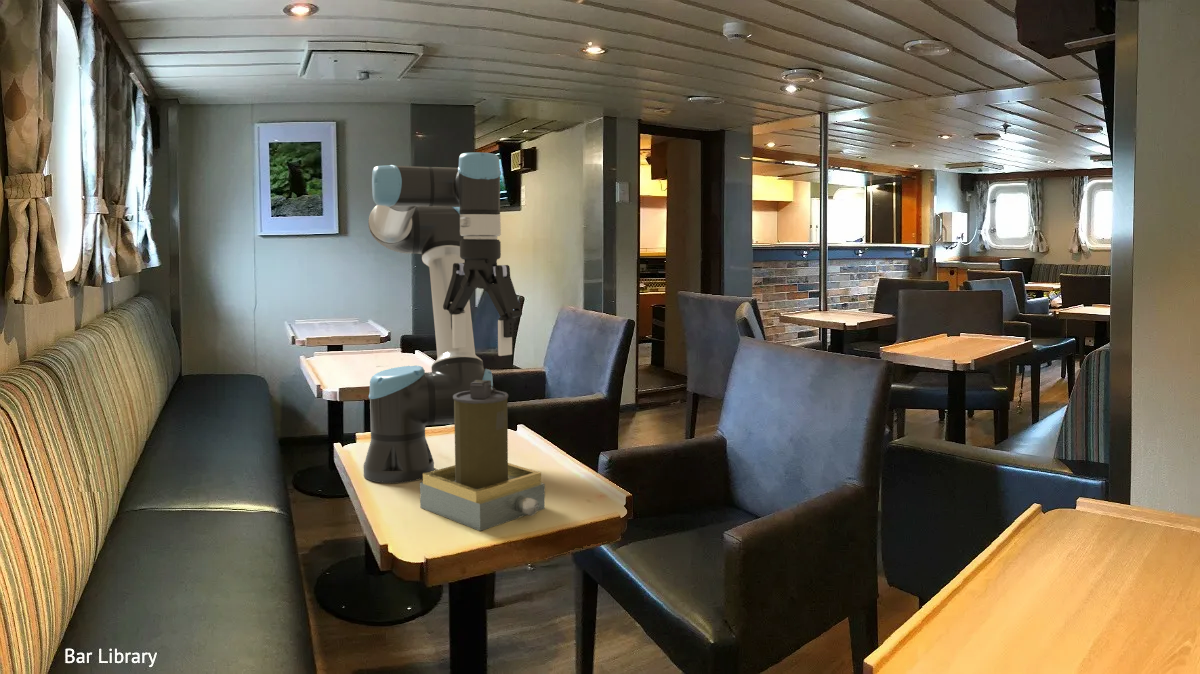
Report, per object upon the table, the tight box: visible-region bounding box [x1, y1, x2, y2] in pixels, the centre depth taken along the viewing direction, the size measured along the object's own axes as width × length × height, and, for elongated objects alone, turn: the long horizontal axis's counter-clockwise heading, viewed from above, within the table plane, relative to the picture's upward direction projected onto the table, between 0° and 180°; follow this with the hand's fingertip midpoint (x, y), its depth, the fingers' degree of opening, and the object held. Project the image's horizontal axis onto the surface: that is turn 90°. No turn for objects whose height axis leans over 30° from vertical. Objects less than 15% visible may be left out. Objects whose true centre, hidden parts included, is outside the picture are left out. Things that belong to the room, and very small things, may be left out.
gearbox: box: [419, 462, 546, 532], centre depth 152 cm, size 21×16×7 cm
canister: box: [453, 380, 509, 489], centre depth 152 cm, size 11×10×20 cm
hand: (481, 351), depth 150 cm, fingers open, 13 cm apart
